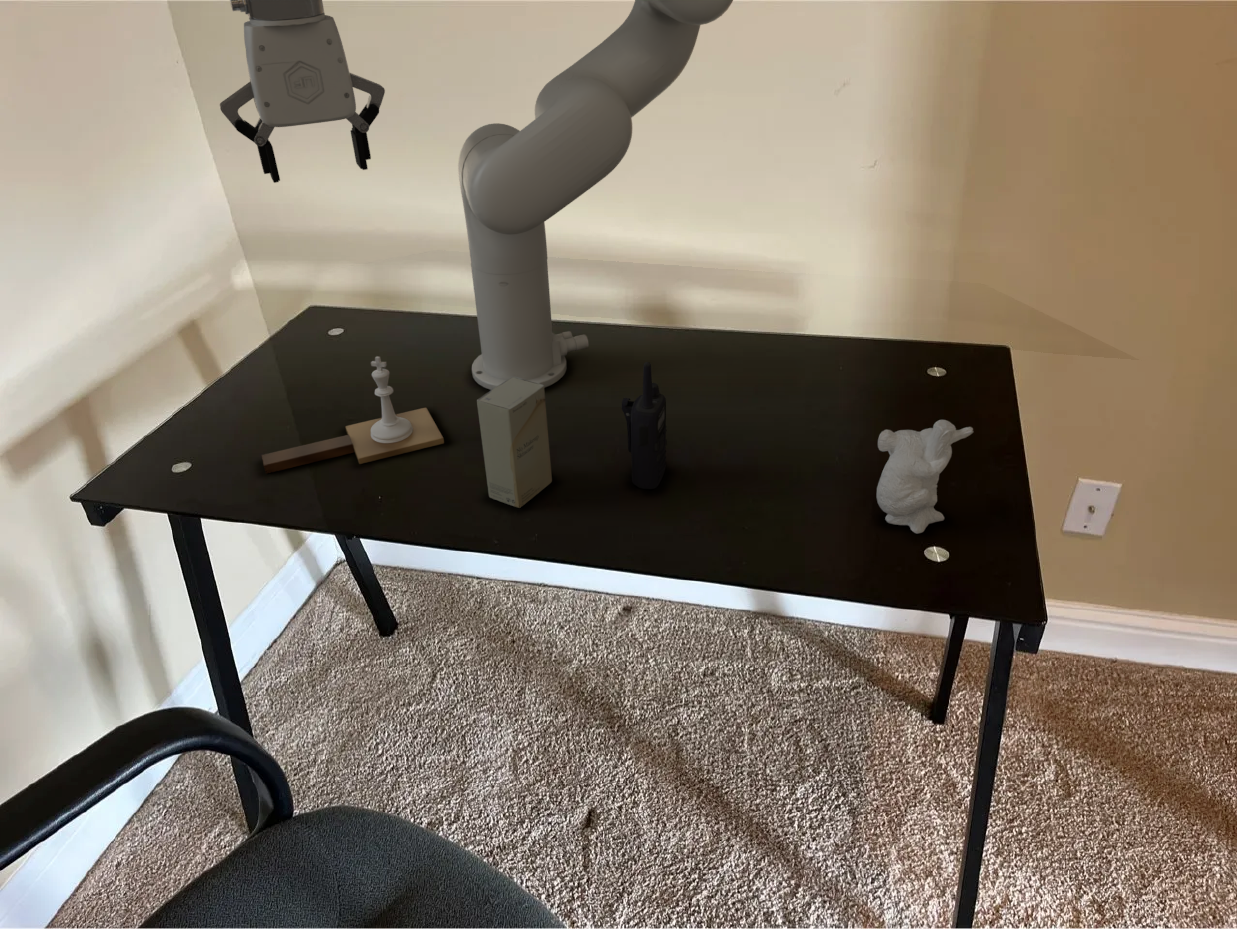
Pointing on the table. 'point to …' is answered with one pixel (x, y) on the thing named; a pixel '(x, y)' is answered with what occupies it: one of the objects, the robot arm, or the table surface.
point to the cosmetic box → (515, 441)
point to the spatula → (359, 444)
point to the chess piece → (387, 410)
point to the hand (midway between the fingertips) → (319, 172)
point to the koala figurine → (915, 473)
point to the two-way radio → (647, 433)
